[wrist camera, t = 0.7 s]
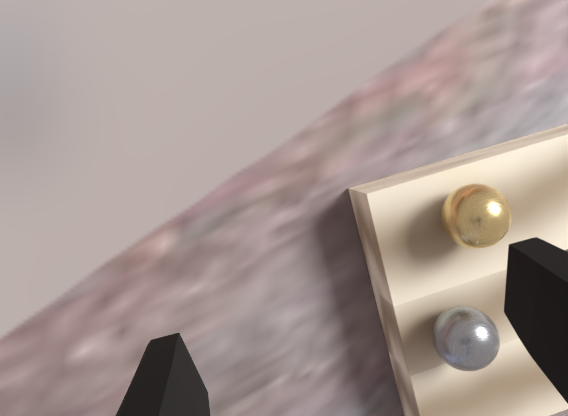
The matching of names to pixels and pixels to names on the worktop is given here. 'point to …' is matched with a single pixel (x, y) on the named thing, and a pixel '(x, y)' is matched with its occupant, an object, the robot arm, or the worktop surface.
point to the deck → (461, 272)
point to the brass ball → (476, 216)
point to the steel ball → (465, 338)
